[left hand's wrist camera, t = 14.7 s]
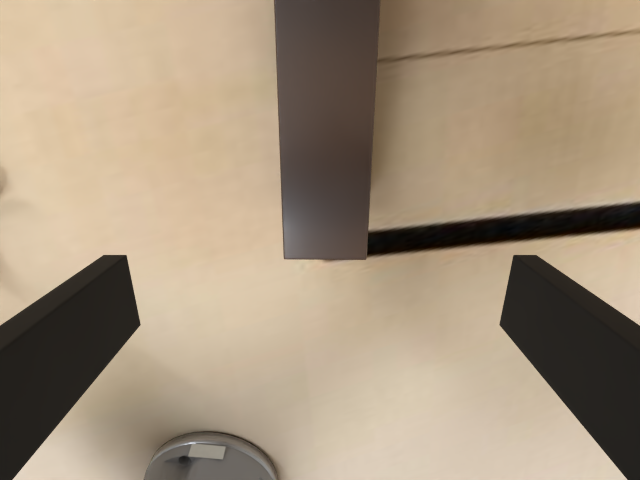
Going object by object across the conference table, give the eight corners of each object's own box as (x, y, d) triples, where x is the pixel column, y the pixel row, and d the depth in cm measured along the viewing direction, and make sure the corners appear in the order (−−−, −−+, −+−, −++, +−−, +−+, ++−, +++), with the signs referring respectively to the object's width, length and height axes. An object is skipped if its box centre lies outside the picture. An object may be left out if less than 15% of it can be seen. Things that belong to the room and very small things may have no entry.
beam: (353, 212, 31) (366, 260, 22) (296, 212, 31) (283, 259, 22) (371, -251, 21) (409, -537, 12) (285, -251, 21) (253, -535, 12)
